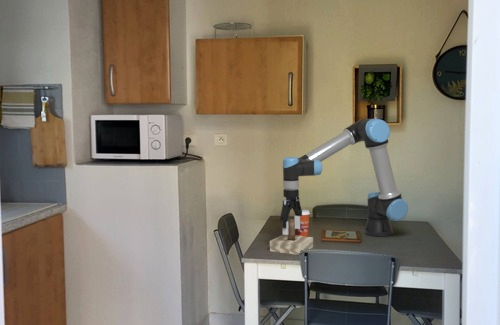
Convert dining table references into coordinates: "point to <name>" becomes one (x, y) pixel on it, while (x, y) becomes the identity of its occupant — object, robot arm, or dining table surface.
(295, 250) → the maple block
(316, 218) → the dining table surface
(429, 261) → the dining table surface
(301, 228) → the coffee cup
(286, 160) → the robot arm
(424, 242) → the dining table surface
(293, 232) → the walnut peg
